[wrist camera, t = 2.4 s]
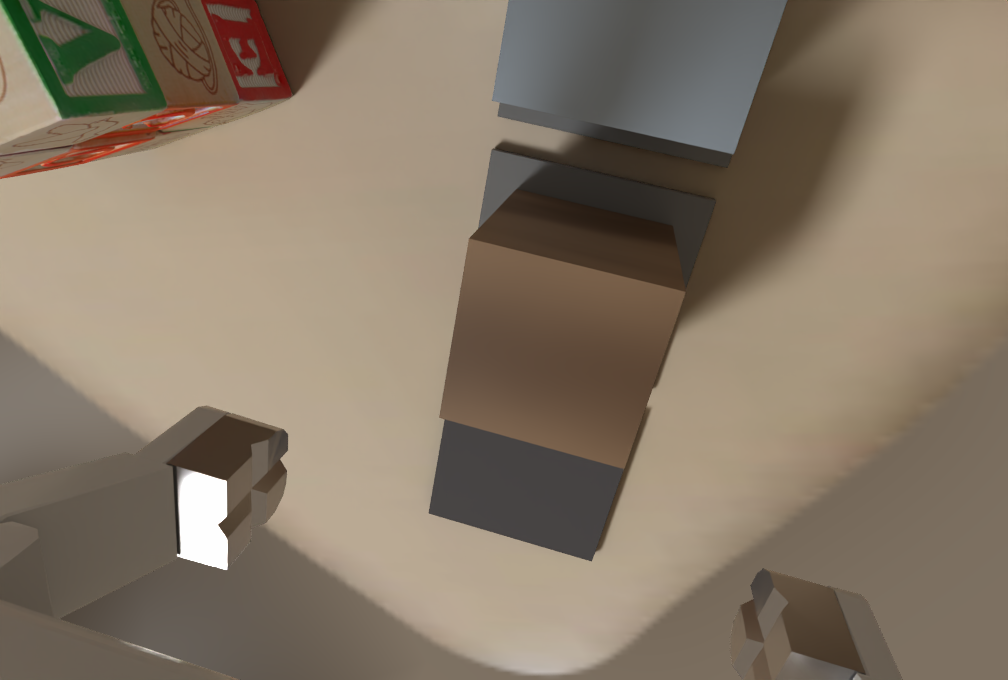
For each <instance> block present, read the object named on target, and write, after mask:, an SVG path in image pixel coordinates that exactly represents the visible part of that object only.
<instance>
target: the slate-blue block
mask: <svg viewBox="0 0 1008 680" xmlns="http://www.w3.org/2000/svg"><path fill="white" fill-rule="evenodd" d="M786 3H787V0H509V2H508V8H507V14H506V20H505V26H504V32H503V38H502V44H501V50H500V56H499V62H498V68H497V74H496V80H495V86H494V92H493V98H492V101H496V102H500V103H505V104H509V105H514V106H518V107H523V108H527V109H532V110H536V111H541V112H545V113H550V114H554V115H559V116H563V117H568V118H572V119H577V120H581V121H586V122H590V123H595V124H599V125H604V126H609V127H613V128H618V129H622V130H627V131H631V132H636V133H640V134H645V135H649V136H654V137H658V138H663V139H667V140H672V141H676V142H681V143H685V144H690V145H694V146H699V147H703V148H708V149H712V150H717V151H721V152H726V153H730V154H734V152H735V149H736V147H737V144H738V141H739V138H740V135H741V132H742V129H743V126H744V124H745V121H746V118H747V115H748V112H749V109H750V106H751V103H752V101H753V98H754V95H755V92H756V89H757V86H758V83H759V80H760V78H761V75H762V72H763V69H764V66H765V63H766V60H767V57H768V55H769V52H770V49H771V46H772V43H773V40H774V37H775V34H776V32H777V29H778V26H779V23H780V20H781V17H782V14H783V11H784V8H785V6H786Z"/></svg>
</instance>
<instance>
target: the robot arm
mask: <svg viewBox="0 0 1008 680" xmlns="http://www.w3.org/2000/svg"><path fill="white" fill-rule="evenodd" d="M287 451H288V434H287V433H286V432H285V430H284V429H281V428H278V427H275V426H271V425H268V424H265V423H262V422H259V421H255V420H252V419H249V418H246V417H243V416H240V415H236V414H233V413H232V414H231V413H229V412H226V411H222V410H219V409H216V408H213V407H209V406H201V407H197V408H196V409H195V410H193V411H192V412H191V413H189V414H188V415H187V416H185V417H184V418H183V419H181V420H180V421H179V422H177V423H176V424H175V425H173V426H172V427H171V428H169V429H168V430H167V431H165V432H164V433H163V434H161V435H160V436H159V437H157V438H156V439H155V440H153V441H152V442H151V443H149V444H148V445H147V446H145V447H144V448H143V449H141V450H140V451H138V452H137V453H136V454H134V455H133V454H130V453H126V452H125V453H121V454H117V455H114V456H109V457H106V458H102V459H98V460H94V461H90V462H86V463H83V464H78V465H75V466H70V467H67V468H63V469H59V470H55V471H51V472H47V473H44V474H39V475H36V476H32V477H28V478H24V479H20V480H16V481H12V482H8V483H4V484H0V680H239V679H236V678H233V677H230V676H227V675H224V674H221V673H218V672H215V671H212V670H209V669H206V668H203V667H200V666H197V665H194V664H191V663H188V662H185V661H182V660H179V659H176V658H173V657H171V656H168V655H165V654H162V653H158V652H156V651H153V650H150V649H147V648H144V647H141V646H137V645H135V644H132V643H129V642H126V641H123V640H120V639H117V638H114V637H111V636H108V635H105V634H102V633H99V632H96V631H93V630H90V629H87V628H84V627H81V626H78V625H75V624H72V623H69V622H66V621H63V620H60V619H59V618H61V617H63V616H65V615H67V614H69V613H71V612H73V611H75V610H77V609H79V608H81V607H83V606H85V605H87V604H89V603H91V602H93V601H95V600H96V599H99V598H101V597H103V596H105V595H107V594H109V593H111V592H113V591H115V590H117V589H119V588H121V587H123V586H125V585H127V584H129V583H130V582H133V581H134V580H137V579H139V578H140V577H142V576H145V575H146V574H149V573H150V572H152V571H154V570H156V569H158V568H160V567H162V566H164V565H166V564H168V563H170V562H172V561H174V560H176V559H177V558H178V556H180V557H183V558H187V559H190V560H194V561H197V562H201V563H205V564H208V565H211V566H215V567H218V568H222V569H225V570H227V569H228V568H229V567H230V566H231V564H232V563H233V562H234V561H235V559H236V558H237V557H238V556H239V555H240V554H241V552H242V551H243V550H244V549H245V548H246V546H247V545H248V544H249V543H250V542H251V529H252V528H255V527H257V526H260V525H262V524H265V523H266V522H267V521H268V520H269V519H270V517H271V516H272V515H273V514H274V512H275V511H276V509H277V507H278V505H279V503H280V501H281V499H282V497H283V494H284V490H285V485H286V478H287V470H286V469H285V467H284V465H283V464H282V462H281V460H280V458H281V457H282V456H283V455H284V454H285V453H286V452H287ZM751 590H752V594H753V598H754V599H753V600H751V601H749V602H747V603H744V604H742V605H741V606H740V608H739V610H738V612H737V615H736V617H735V619H734V621H733V627H732V632H731V637H730V653H731V659H732V666H733V668H734V669H735V670H736V671H737V673H738V674H739V676H740V677H741V678H742V679H743V680H903V679H902V677H901V674H900V672H899V670H898V668H897V666H896V663H895V661H894V659H893V657H892V654H891V652H890V650H889V648H888V646H887V643H886V641H885V639H884V637H883V634H882V632H881V630H880V628H879V625H878V623H877V621H876V619H875V616H874V614H873V612H872V610H871V608H870V605H869V603H868V601H867V600H866V599H865V598H864V597H863V596H862V595H861V594H857V593H853V592H849V591H846V590H842V589H838V588H834V587H831V586H823V585H820V584H816V583H813V582H810V581H806V580H802V579H799V578H795V577H792V576H788V575H785V574H781V573H778V572H774V571H771V570H767V569H764V568H763V569H762V570H761V571H760V572H758V573H757V575H756V576H755V578H754V580H753V582H752V584H751Z"/></svg>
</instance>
